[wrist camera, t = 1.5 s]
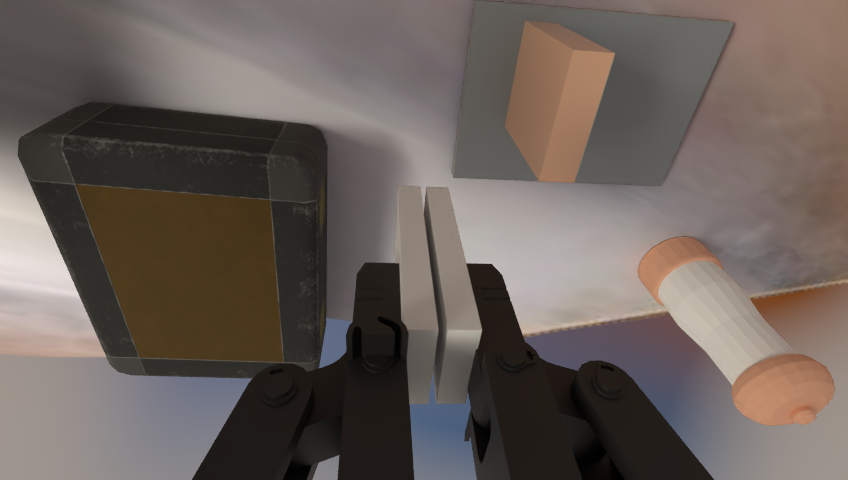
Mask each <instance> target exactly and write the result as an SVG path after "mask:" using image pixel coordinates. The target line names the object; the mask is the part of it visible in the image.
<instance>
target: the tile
mask: <svg viewBox="0 0 848 480" xmlns="http://www.w3.org/2000/svg"><path fill="white" fill-rule="evenodd" d="M614 56H615V53H614V52H612V51H610V50H608V49H606V48H604V47H602V46H600V45H598V44H596V43H595V42H593V41H591V40H589V39H587V38H585V37H583V36H581V35H579V34H577V33H575V32H573V31H571V30H569V29H567V28H565V27H563V26H561V25H559V24H557V23H547V22H535V21H525V24H524V29H523V35H522V40H521V45H520V50H519V55H518V60H517V65H516V70H515V76H514V81H513V86H512V91H511V96H510V101H509V106H508V111H507V117H506V122H505V127H506V129H507V131H508V132H509V134H510V136H511V137H512V139H513V140H514V142H515V144H516V145H517V147H518V148H519V150H520V152H521V153H522V155H523V156H524V158H525V160H526V161H527V163H528V165H529V166H530V168H531V169H532V171H533V173H534V174H535V176H536V177H537V179H538V181H541V182H566V183H574V182H575V179H576V176H577V174H578V171H579V168H580V165H581V162H582V159H583V155H584V152H585V149H586V146H587V143H588V140H589V137H590V133H591V130H592V127H593V124H594V121H595V118H596V115H597V111H598V108H599V105H600V102H601V99H602V96H603V93H604V89H605V86H606V83H607V80H608V77H609V74H610V71H611V67H612V64H613V61H614Z"/></svg>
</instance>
